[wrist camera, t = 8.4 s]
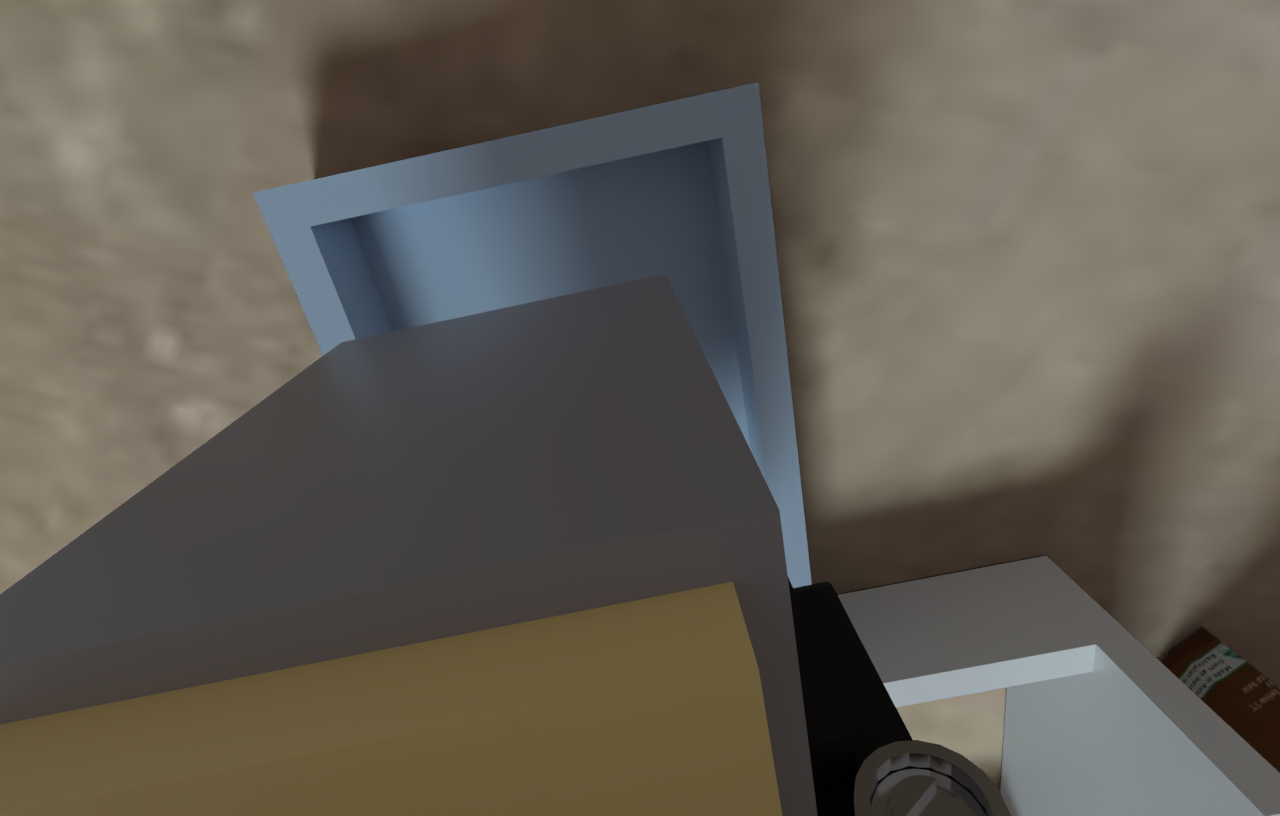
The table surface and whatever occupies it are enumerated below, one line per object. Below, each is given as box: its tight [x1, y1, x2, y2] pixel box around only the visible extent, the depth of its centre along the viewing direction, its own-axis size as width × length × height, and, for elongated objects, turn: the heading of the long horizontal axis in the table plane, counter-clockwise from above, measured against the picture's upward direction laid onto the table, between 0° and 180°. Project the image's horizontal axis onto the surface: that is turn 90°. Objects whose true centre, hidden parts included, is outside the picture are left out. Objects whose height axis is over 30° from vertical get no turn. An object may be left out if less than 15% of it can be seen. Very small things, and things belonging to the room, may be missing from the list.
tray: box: [253, 82, 812, 588], centre depth 16 cm, size 10×15×3 cm, turn 11°
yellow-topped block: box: [0, 274, 818, 816], centre depth 8 cm, size 5×10×7 cm, turn 11°
